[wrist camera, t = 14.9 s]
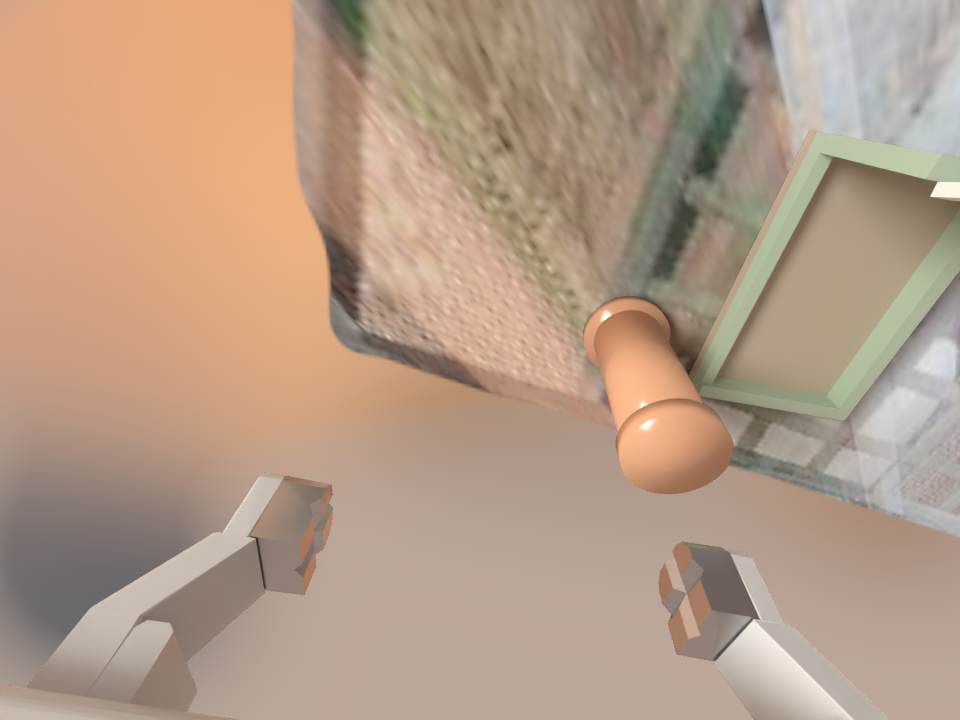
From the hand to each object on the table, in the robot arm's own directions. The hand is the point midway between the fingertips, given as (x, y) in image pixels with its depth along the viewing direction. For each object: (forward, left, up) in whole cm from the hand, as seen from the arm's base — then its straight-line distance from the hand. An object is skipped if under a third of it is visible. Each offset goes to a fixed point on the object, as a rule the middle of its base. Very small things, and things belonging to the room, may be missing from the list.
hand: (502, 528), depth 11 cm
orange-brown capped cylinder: (+10, +12, -30) cm, 34 cm away
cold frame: (+2, +27, -31) cm, 41 cm away
